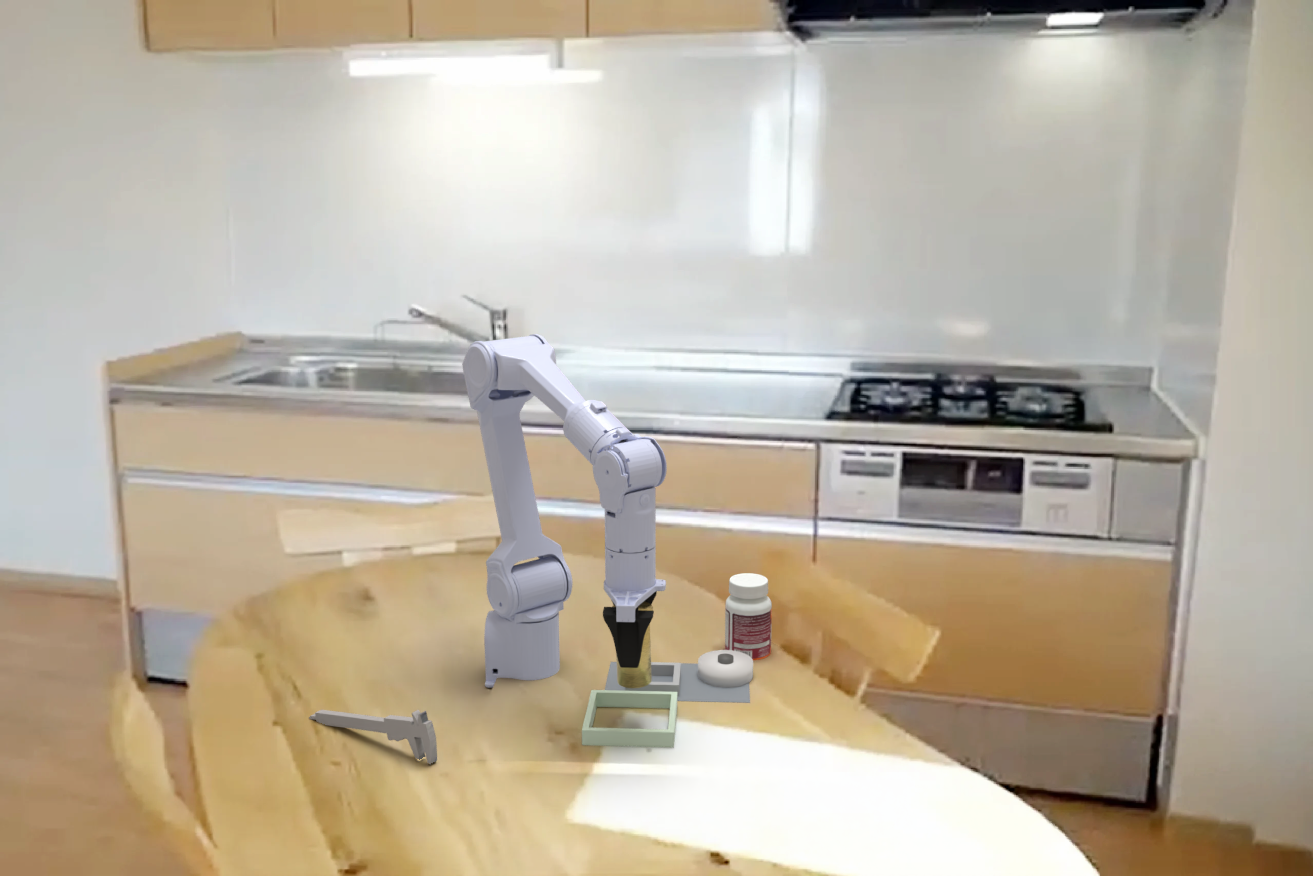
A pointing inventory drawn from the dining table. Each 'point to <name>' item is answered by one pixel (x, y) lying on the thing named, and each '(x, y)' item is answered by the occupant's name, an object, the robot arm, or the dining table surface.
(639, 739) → the tray
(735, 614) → the pill bottle
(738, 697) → the board
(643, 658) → the lock pin
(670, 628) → the dining table surface
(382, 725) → the caliper
